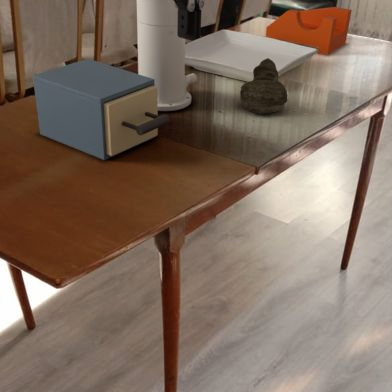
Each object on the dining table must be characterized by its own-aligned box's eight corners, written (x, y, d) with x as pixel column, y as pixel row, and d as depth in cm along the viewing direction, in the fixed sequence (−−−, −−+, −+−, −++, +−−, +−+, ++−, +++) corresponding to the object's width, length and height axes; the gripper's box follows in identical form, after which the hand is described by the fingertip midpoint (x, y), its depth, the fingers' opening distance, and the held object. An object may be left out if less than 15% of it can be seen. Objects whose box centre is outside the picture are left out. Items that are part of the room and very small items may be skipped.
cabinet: (155, 137, 118) (154, 79, 111) (104, 160, 110) (100, 99, 103) (92, 114, 125) (88, 58, 118) (40, 134, 117) (32, 75, 110)
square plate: (268, 93, 138) (270, 75, 136) (165, 68, 148) (165, 51, 146) (317, 62, 156) (320, 46, 153) (222, 42, 166) (223, 26, 163)
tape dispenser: (345, 43, 169) (351, 9, 164) (327, 55, 161) (333, 19, 156) (285, 31, 176) (289, -2, 171) (265, 42, 168) (268, 7, 162)
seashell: (306, 74, 130) (266, 63, 134) (287, 52, 119) (243, 40, 124) (284, 128, 132) (245, 115, 137) (263, 110, 122) (221, 97, 126)
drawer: (178, 142, 114) (179, 93, 108) (132, 164, 107) (131, 113, 101) (97, 113, 123) (94, 66, 117) (50, 132, 116) (44, 83, 110)
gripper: (179, -107, 76) (176, 54, 88) (248, -113, 85) (237, 33, 97) (133, -113, 79) (136, 42, 91) (204, -119, 88) (199, 23, 100)
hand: (188, 37), depth 94 cm, fingers closed
